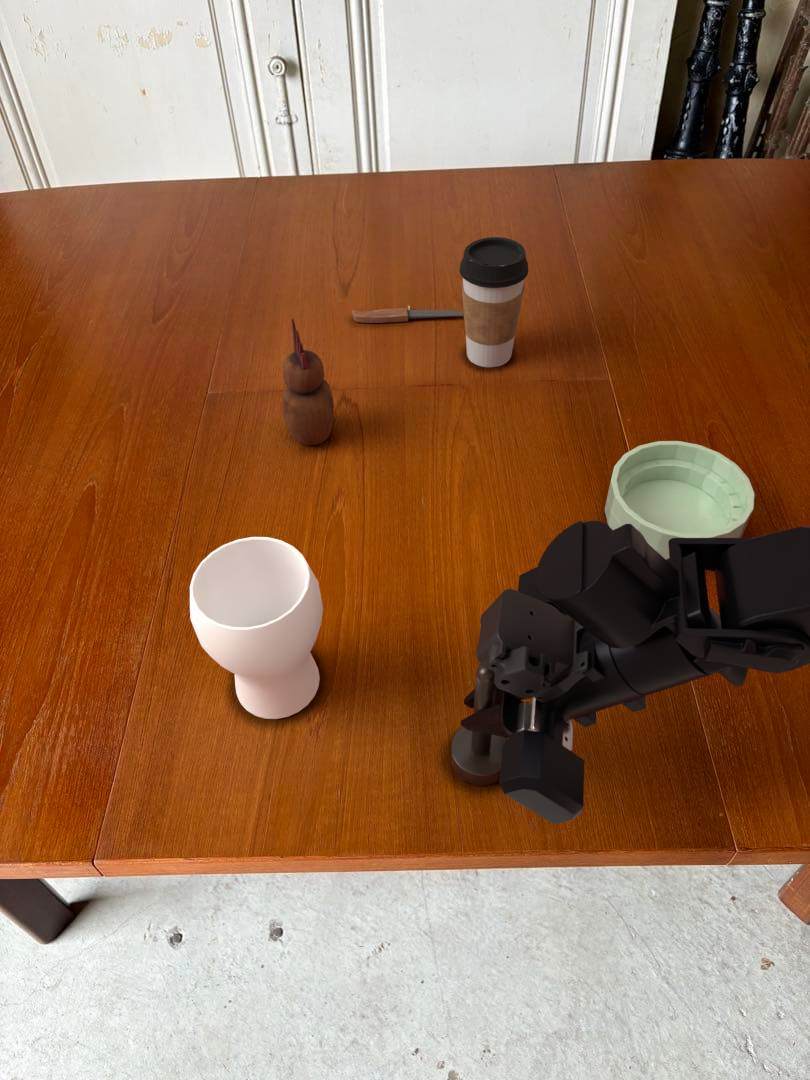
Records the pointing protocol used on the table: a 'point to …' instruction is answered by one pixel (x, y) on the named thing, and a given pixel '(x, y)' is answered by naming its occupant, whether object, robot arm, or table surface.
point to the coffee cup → (492, 298)
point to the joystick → (479, 739)
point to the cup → (260, 622)
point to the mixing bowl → (678, 494)
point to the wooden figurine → (306, 395)
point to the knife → (400, 315)
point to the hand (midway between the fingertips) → (465, 714)
